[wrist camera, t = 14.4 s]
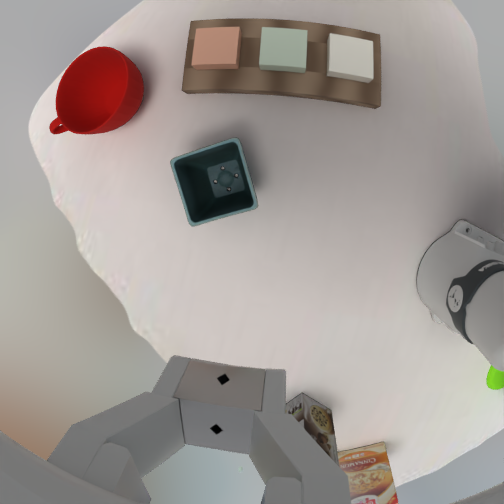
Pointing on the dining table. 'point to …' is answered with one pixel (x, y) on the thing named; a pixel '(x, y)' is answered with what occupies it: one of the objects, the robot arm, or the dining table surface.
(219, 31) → the pink square block
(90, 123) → the ceramic cup
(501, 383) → the wineglass
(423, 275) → the robot arm
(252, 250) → the dining table surface
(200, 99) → the dining table surface
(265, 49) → the sage tile
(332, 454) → the coffee box
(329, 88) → the button board
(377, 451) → the coffeecake box
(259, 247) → the dining table surface
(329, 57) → the white square block
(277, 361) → the dining table surface
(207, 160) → the flower pot
